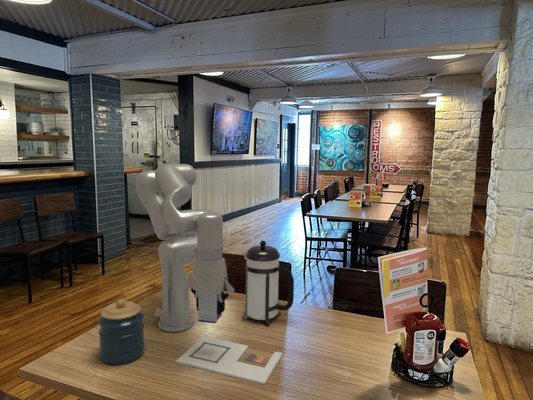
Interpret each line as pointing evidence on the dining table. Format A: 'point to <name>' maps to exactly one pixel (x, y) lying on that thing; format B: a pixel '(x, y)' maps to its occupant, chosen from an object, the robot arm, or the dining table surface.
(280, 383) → the dining table surface
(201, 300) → the supplement box
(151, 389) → the dining table surface
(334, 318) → the dining table surface
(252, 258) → the coffee press
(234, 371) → the board
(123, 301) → the canister
